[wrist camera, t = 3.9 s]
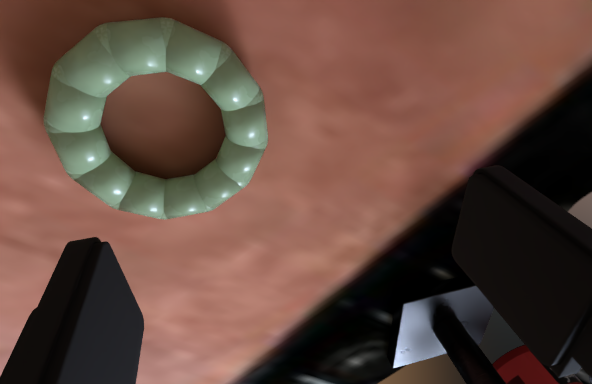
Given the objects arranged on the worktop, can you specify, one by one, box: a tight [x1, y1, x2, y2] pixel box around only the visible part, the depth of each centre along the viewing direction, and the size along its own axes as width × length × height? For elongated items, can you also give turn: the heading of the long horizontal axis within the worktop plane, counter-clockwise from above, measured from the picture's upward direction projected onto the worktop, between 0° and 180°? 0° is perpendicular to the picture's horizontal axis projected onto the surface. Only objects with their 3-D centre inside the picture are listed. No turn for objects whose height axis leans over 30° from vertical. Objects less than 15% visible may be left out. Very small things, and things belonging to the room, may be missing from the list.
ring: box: [44, 17, 268, 219], centre depth 16 cm, size 9×9×2 cm
